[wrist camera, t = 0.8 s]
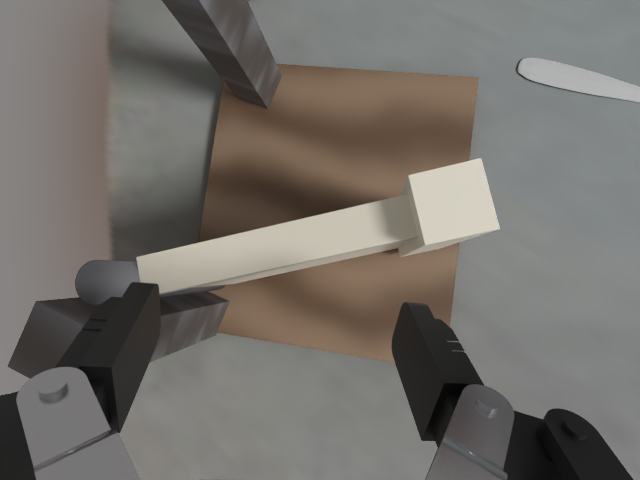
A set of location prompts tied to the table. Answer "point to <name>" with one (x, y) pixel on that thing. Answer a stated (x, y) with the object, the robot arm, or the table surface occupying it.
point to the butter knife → (577, 79)
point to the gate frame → (299, 196)
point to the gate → (313, 238)
